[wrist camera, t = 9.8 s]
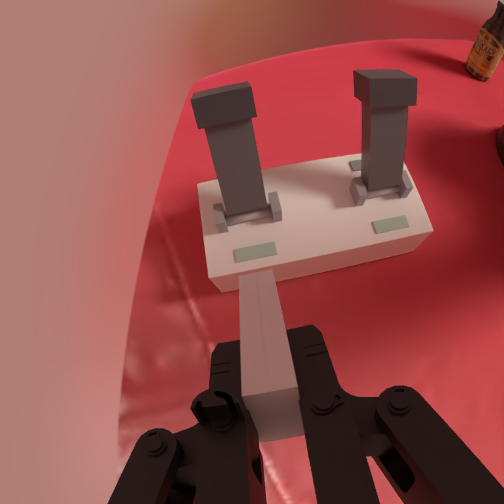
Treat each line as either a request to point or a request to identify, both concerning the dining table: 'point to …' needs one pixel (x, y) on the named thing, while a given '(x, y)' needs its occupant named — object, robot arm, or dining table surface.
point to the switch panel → (310, 222)
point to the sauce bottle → (488, 46)
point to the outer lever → (232, 144)
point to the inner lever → (384, 123)
